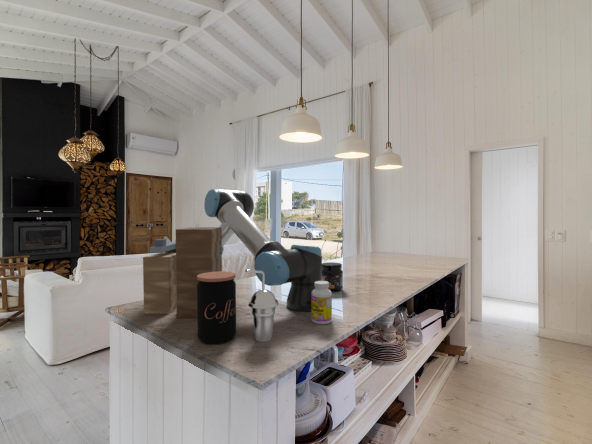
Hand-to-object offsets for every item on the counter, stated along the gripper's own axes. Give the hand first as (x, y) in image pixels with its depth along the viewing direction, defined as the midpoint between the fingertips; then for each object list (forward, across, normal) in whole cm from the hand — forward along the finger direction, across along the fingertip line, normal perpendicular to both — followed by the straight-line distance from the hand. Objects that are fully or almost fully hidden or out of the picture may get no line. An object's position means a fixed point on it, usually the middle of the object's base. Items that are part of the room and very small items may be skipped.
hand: (170, 239), depth 127 cm
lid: (+1, 0, -5) cm, 5 cm away
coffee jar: (+18, -27, -40) cm, 51 cm away
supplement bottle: (+6, -58, -33) cm, 67 cm away
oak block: (-7, 0, -25) cm, 26 cm away
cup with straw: (+18, -40, -40) cm, 60 cm away
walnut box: (-3, -15, -27) cm, 31 cm away
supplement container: (-32, -65, -11) cm, 73 cm away
